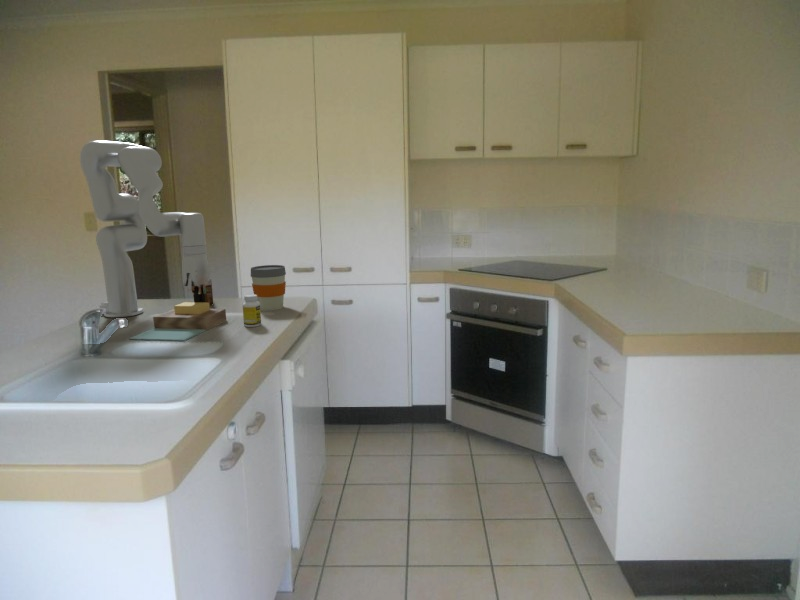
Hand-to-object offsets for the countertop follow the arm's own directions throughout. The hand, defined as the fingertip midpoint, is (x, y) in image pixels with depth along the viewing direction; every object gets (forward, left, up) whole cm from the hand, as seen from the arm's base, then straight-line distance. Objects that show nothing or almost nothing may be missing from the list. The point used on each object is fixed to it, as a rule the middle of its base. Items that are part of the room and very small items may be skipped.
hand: (200, 305), depth 189 cm
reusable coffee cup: (+16, +21, -5) cm, 27 cm away
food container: (-14, +27, -5) cm, 31 cm away
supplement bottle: (+21, -5, -5) cm, 22 cm away
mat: (0, -19, -5) cm, 20 cm away
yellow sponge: (0, -5, -1) cm, 5 cm away
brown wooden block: (0, -6, -5) cm, 8 cm away
